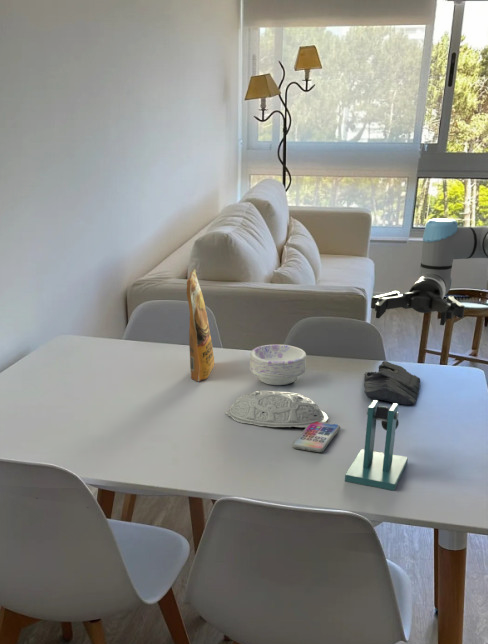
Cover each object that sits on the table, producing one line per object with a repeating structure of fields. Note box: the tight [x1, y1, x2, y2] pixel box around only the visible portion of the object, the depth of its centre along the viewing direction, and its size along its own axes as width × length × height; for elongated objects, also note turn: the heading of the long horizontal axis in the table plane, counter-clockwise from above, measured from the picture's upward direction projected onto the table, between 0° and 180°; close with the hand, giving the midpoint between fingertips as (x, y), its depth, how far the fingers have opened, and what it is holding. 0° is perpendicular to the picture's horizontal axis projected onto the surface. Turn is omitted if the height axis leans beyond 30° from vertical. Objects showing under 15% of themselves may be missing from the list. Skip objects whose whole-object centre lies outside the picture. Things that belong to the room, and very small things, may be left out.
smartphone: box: [291, 421, 341, 453], centre depth 160 cm, size 7×1×15 cm
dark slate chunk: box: [363, 360, 421, 406], centre depth 187 cm, size 15×22×5 cm
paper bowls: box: [249, 344, 307, 386], centre depth 193 cm, size 15×15×8 cm
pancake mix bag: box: [186, 268, 215, 382], centre depth 194 cm, size 7×19×28 cm, turn 171°
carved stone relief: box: [225, 390, 329, 428], centre depth 171 cm, size 16×25×7 cm, turn 73°
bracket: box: [344, 399, 409, 492], centre depth 142 cm, size 13×10×15 cm
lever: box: [375, 405, 400, 432], centre depth 145 cm, size 14×4×4 cm
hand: (409, 315), depth 149 cm, fingers open, 13 cm apart
